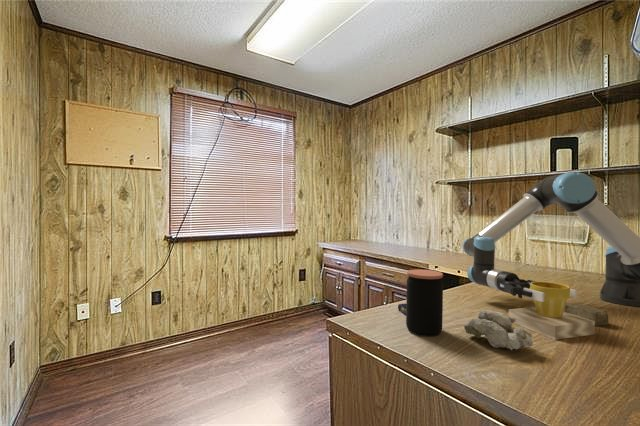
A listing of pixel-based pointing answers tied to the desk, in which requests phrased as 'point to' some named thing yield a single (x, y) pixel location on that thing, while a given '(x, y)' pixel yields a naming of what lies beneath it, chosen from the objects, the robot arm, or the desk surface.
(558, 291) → the plant pot
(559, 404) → the desk surface
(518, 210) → the robot arm
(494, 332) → the mineral
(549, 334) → the birch block
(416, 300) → the coffee jar
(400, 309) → the race car
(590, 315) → the stone block
